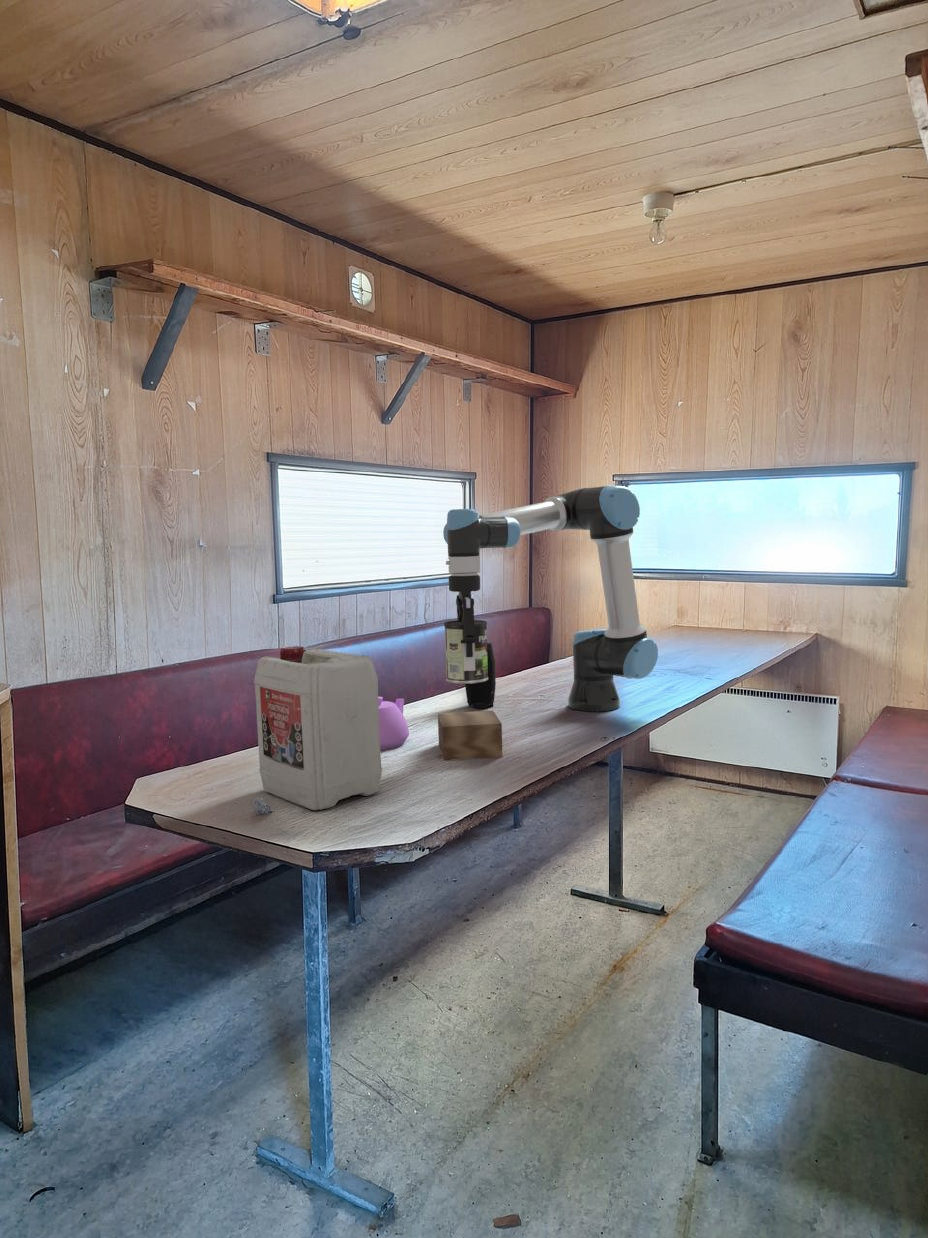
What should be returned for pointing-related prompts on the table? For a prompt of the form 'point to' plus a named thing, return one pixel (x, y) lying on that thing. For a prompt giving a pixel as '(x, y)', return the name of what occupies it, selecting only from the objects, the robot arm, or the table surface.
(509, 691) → the table surface
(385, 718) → the teapot
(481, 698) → the portable speaker
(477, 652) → the coffee can
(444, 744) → the walnut block
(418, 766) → the table surface
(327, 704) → the jerry can
